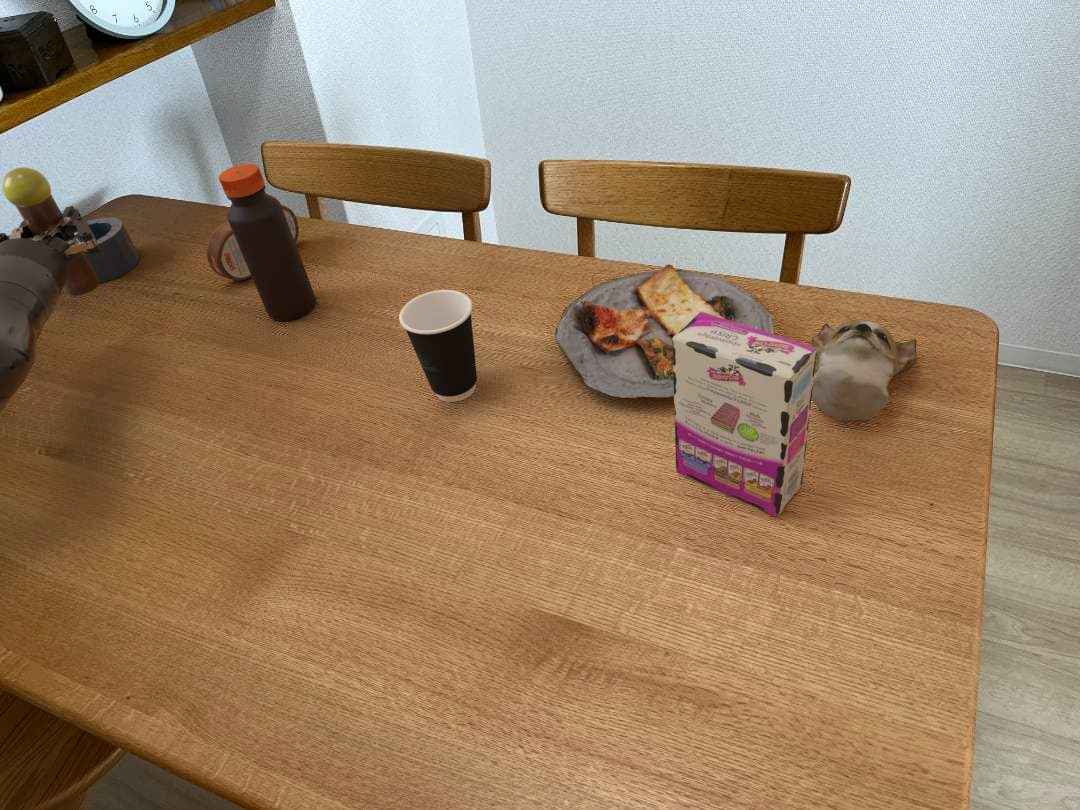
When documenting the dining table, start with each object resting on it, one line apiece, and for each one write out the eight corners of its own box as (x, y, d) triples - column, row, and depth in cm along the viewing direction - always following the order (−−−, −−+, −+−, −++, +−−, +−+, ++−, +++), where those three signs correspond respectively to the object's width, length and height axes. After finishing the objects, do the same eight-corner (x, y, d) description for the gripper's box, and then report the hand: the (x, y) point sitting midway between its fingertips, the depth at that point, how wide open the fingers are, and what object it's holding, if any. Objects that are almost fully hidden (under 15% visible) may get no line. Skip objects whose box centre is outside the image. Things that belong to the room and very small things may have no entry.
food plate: (533, 317, 102) (529, 293, 100) (698, 264, 106) (698, 241, 104) (614, 438, 84) (611, 412, 81) (809, 369, 88) (812, 343, 86)
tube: (98, 289, 122) (79, 255, 119) (61, 277, 127) (41, 243, 123) (152, 257, 128) (135, 223, 124) (114, 246, 133) (97, 213, 129)
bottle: (327, 299, 112) (277, 163, 99) (293, 326, 108) (236, 188, 95) (292, 290, 115) (240, 157, 102) (257, 316, 111) (198, 181, 98)
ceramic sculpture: (790, 352, 76) (826, 277, 87) (782, 422, 82) (816, 344, 92) (911, 375, 72) (933, 293, 82) (893, 448, 77) (917, 363, 87)
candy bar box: (804, 485, 76) (821, 346, 65) (778, 519, 73) (792, 380, 62) (700, 441, 82) (700, 307, 71) (673, 471, 79) (669, 337, 68)
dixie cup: (497, 368, 95) (481, 289, 88) (478, 413, 89) (459, 333, 82) (434, 365, 97) (413, 288, 90) (412, 409, 91) (387, 330, 84)
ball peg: (78, 300, 101) (7, 181, 90) (56, 293, 103) (-15, 175, 92) (110, 281, 103) (46, 163, 93) (89, 273, 106) (23, 158, 95)
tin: (295, 239, 127) (277, 189, 121) (309, 243, 125) (291, 193, 119) (218, 288, 118) (195, 237, 113) (231, 293, 116) (208, 241, 111)
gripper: (68, 242, 85) (98, 176, 98) (-72, 273, 84) (-23, 201, 97) (102, 302, 90) (126, 231, 103) (-30, 331, 89) (12, 256, 102)
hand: (54, 217), depth 100 cm, fingers closed on ball peg, 4 cm apart
